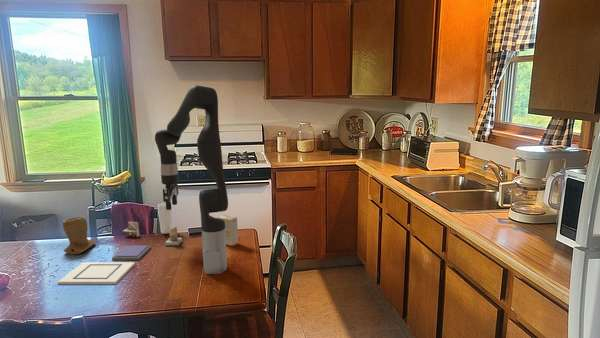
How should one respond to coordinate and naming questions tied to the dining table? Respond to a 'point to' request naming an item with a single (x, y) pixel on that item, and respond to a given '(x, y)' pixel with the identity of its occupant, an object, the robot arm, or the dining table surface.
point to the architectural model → (132, 229)
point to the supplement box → (230, 229)
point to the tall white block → (164, 218)
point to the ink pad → (131, 253)
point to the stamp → (173, 238)
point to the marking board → (97, 273)
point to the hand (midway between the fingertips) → (171, 207)
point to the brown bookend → (77, 235)
